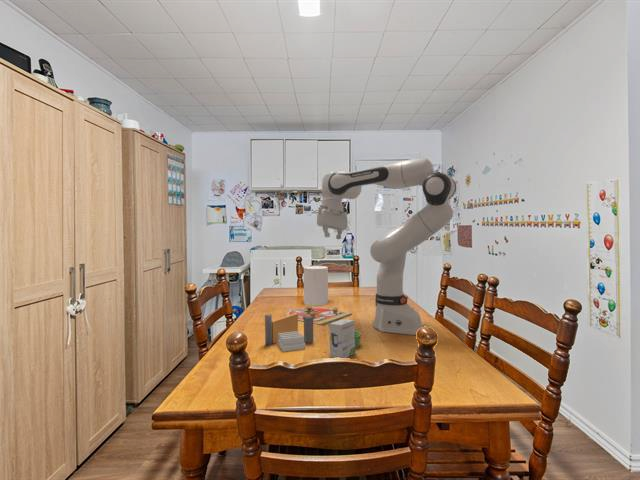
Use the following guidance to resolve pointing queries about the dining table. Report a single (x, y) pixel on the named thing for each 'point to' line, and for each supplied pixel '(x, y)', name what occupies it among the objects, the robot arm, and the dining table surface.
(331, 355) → the ink box
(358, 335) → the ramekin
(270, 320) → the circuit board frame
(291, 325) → the tan wooden panel
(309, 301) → the canister
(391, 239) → the robot arm
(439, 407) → the dining table surface
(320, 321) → the knob puzzle
